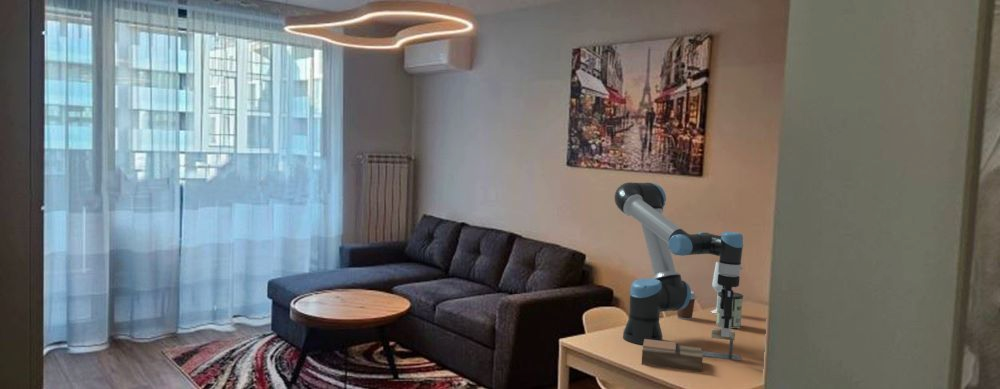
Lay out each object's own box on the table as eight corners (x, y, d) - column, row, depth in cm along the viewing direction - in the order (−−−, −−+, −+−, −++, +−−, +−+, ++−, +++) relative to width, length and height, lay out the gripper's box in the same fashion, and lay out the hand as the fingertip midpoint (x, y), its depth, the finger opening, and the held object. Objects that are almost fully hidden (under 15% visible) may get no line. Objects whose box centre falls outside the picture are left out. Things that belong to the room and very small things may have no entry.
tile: (675, 342, 239) (675, 345, 240) (644, 338, 242) (643, 342, 242) (675, 349, 231) (675, 352, 231) (643, 345, 233) (642, 349, 234)
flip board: (642, 354, 244) (643, 339, 244) (700, 361, 239) (701, 346, 239) (641, 364, 232) (642, 348, 232) (701, 371, 228) (702, 355, 227)
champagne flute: (707, 311, 319) (711, 261, 317) (721, 311, 319) (725, 261, 318) (713, 314, 312) (716, 263, 311) (727, 315, 313) (731, 264, 311)
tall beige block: (739, 356, 248) (741, 330, 248) (741, 361, 242) (743, 334, 242) (697, 351, 252) (699, 325, 251) (697, 356, 246) (699, 329, 245)
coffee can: (719, 321, 300) (721, 290, 299) (743, 325, 294) (745, 293, 293) (712, 325, 291) (715, 293, 290) (737, 330, 286) (740, 297, 285)
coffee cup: (697, 321, 298) (699, 294, 297) (676, 320, 298) (678, 293, 297) (691, 316, 307) (693, 290, 306) (671, 314, 307) (673, 289, 306)
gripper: (743, 282, 232) (737, 342, 234) (736, 269, 256) (731, 324, 258) (720, 280, 234) (715, 339, 235) (716, 267, 258) (711, 321, 259)
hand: (723, 331), depth 247 cm, fingers open, 13 cm apart
